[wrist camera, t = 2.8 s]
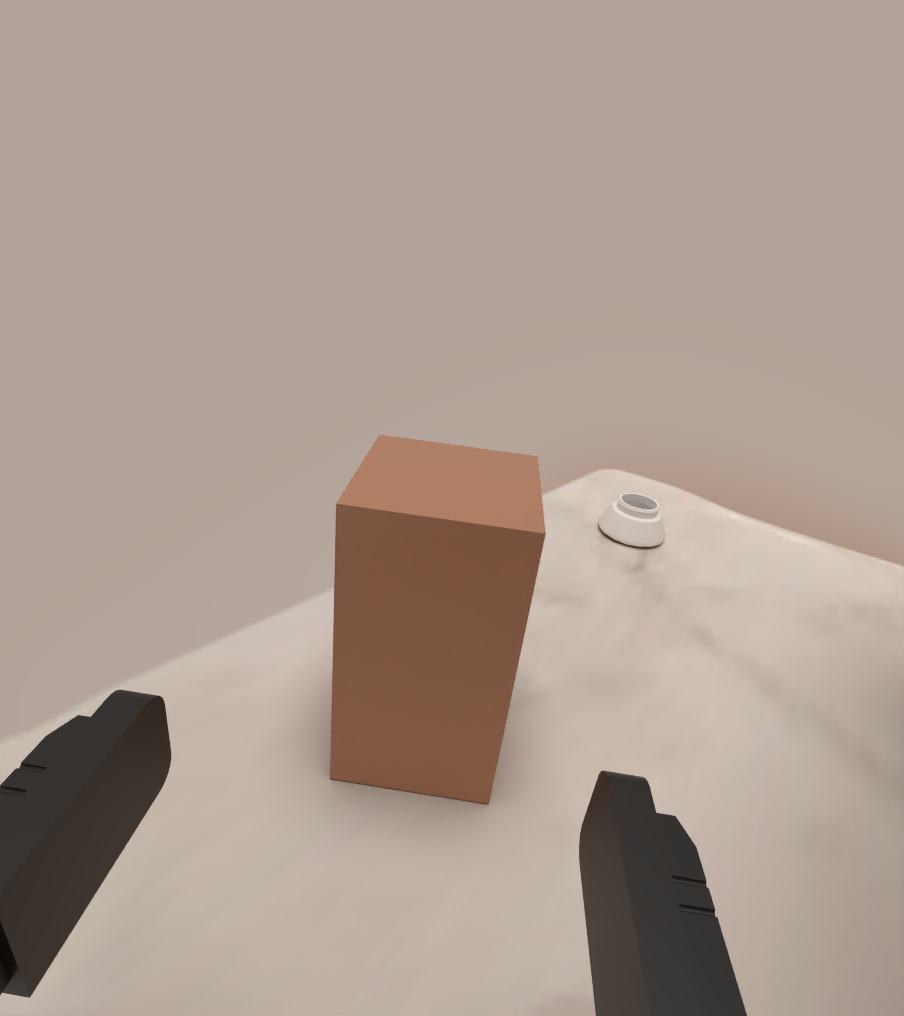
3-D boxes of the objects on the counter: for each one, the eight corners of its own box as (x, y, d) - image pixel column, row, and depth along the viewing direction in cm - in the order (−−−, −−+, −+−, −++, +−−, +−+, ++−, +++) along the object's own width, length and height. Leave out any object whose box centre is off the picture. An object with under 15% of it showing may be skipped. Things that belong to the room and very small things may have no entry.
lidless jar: (587, 534, 45) (650, 559, 42) (596, 500, 43) (662, 524, 41) (610, 513, 48) (669, 535, 46) (619, 481, 47) (680, 502, 45)
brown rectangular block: (493, 688, 29) (537, 456, 23) (488, 804, 23) (545, 533, 17) (366, 668, 29) (379, 434, 23) (330, 778, 23) (336, 503, 18)
